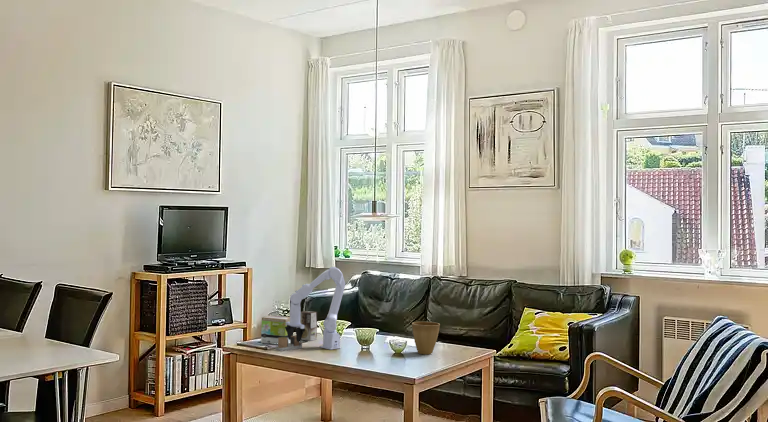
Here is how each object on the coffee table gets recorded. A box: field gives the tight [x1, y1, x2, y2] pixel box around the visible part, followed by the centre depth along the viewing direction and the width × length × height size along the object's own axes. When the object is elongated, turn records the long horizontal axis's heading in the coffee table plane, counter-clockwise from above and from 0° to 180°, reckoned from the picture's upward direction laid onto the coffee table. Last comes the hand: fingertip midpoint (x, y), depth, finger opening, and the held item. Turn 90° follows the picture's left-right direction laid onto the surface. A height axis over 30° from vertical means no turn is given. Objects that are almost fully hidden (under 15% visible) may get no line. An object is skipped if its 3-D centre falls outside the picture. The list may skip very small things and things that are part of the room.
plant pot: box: [411, 321, 441, 355], centre depth 373 cm, size 15×15×16 cm
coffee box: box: [300, 310, 318, 342], centre depth 408 cm, size 9×6×16 cm
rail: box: [274, 337, 303, 352], centre depth 377 cm, size 5×14×6 cm, turn 133°
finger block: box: [290, 334, 300, 346], centre depth 380 cm, size 4×4×5 cm
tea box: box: [260, 314, 290, 344], centre depth 394 cm, size 15×10×15 cm, turn 73°
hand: (294, 340), depth 380 cm, fingers open, 7 cm apart
